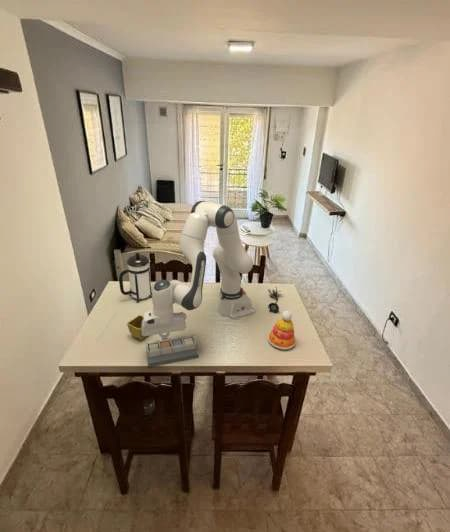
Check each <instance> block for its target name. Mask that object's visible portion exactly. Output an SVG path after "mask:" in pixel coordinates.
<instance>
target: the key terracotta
mask: <svg viewBox="0 0 450 532" xmlns="http://www.w3.org/2000/svg"><path fill="white" fill-rule="evenodd" d="M168 347H170V343H169V342H164V343H161V348H168Z"/></svg>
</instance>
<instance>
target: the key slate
mask: <svg viewBox="0 0 450 532" xmlns="http://www.w3.org/2000/svg"><path fill="white" fill-rule="evenodd" d="M172 343H173V346H179V345H182V343H181V340H175V341H172Z"/></svg>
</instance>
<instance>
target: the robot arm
mask: <svg viewBox="0 0 450 532" xmlns="http://www.w3.org/2000/svg"><path fill="white" fill-rule="evenodd" d="M210 227H213V228H215V230H216V235H217V239H218V245H217V246H216V247H215V248H214V250H213V251H212V253H213V254H212V257H213V259H214V260H215V262H216V263H217V266H218V269H219V273H220V277H221V278H220V279H221V280H220V281H221V282H220V290H219V303H218V306H217V311H218V313H219V314H220V315H223V316H225V317H229V318H231V319H238V318H241V317H245V316H248V315H250V314H255V313H256V306H255V305H254V303H253V302H252V300H251V298H250V297H249V295H247V292H246V290H244V289H243V287H241V285H242V284H241V283H242V277H241V275H240V274H244V275H247V274H248V273H250V271H251V270H252V269H253V266H254V260H253V258H252V257H251V256H250V255H249V253H248V252H247V250H246V248H245V247H244V245H243V243H242V241H241V237H240V232H239V225H238V220H237V218H236V214H235V212H234V210H233V209H232V208H231V207H229V206H227V205H224V204H220V203H219V202H218V203H217V202H213V201H211V202H210V201H206V200H198V201H196V202H194V204H193V206H192V207H191V210H190V214H188V217H187V218H186V220H185V223H184V225H183V228H182V231H181V233H180V237H179V241H178V247H179V249H180V252H181V253H182V255H184V257H185V258H186V259H188V261H189V263H190V264H191V267H192V272H191V279H190V284H189V285H188V284H187V283H184V282H183V281H180V280H177V279H171V280H169V279H168V280H166V279H161V280H158V281H156V282H155V283H154V285H153V287H152V290H151V293H152V295H151V296H152V298H151V301H152V305H153V308H152V309H151V310H148V311H145V312H143V315H142V316H143V320H142V325H141V331H142V335H143V336H145V337H149V336H155V335H159V337H160V338H161V340H167V339H169V336H170V335H171V333H174V332H181V331H185V330H186V329H187V322H186V320H187V314H186V312H183V311H180V312H174V305H175V304H177V305H179V306H181V307H182V308H184V309H185V310H186V311H194V310H195V309H197V308H199V307H200V306H201V304H202V301H203V289H204V288H203V286H204V281H205V273H206V267H207V255H206V253H205V249H204V248H205V241H206V238H207V234H208V229H209V228H210Z"/></svg>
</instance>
